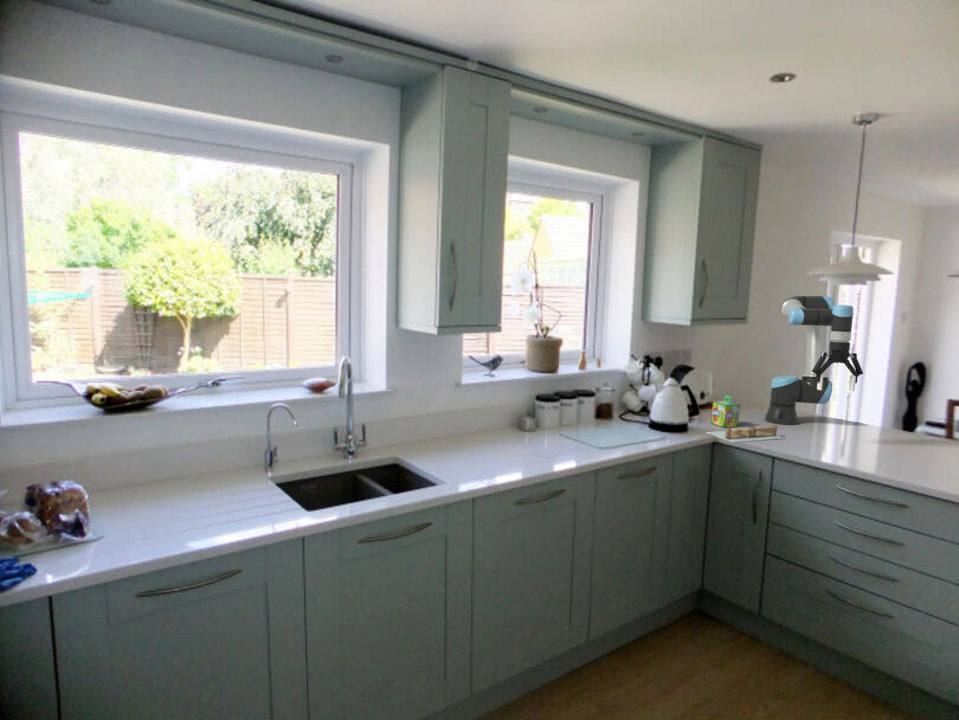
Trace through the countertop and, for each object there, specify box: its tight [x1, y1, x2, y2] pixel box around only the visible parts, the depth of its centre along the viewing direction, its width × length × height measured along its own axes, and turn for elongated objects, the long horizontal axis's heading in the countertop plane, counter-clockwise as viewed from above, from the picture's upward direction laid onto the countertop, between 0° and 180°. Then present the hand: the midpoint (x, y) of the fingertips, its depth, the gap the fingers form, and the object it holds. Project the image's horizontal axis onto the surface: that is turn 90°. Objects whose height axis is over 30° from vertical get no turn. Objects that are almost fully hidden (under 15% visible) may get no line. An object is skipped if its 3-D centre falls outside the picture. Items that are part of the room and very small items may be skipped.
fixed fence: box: [748, 424, 778, 438], centre depth 265 cm, size 2×15×5 cm, turn 108°
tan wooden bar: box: [725, 427, 750, 439], centre depth 261 cm, size 12×2×4 cm, turn 108°
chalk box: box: [710, 394, 741, 429], centre depth 287 cm, size 9×9×15 cm
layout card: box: [705, 430, 785, 444], centre depth 268 cm, size 18×28×1 cm, turn 108°
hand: (835, 390), depth 253 cm, fingers open, 13 cm apart
